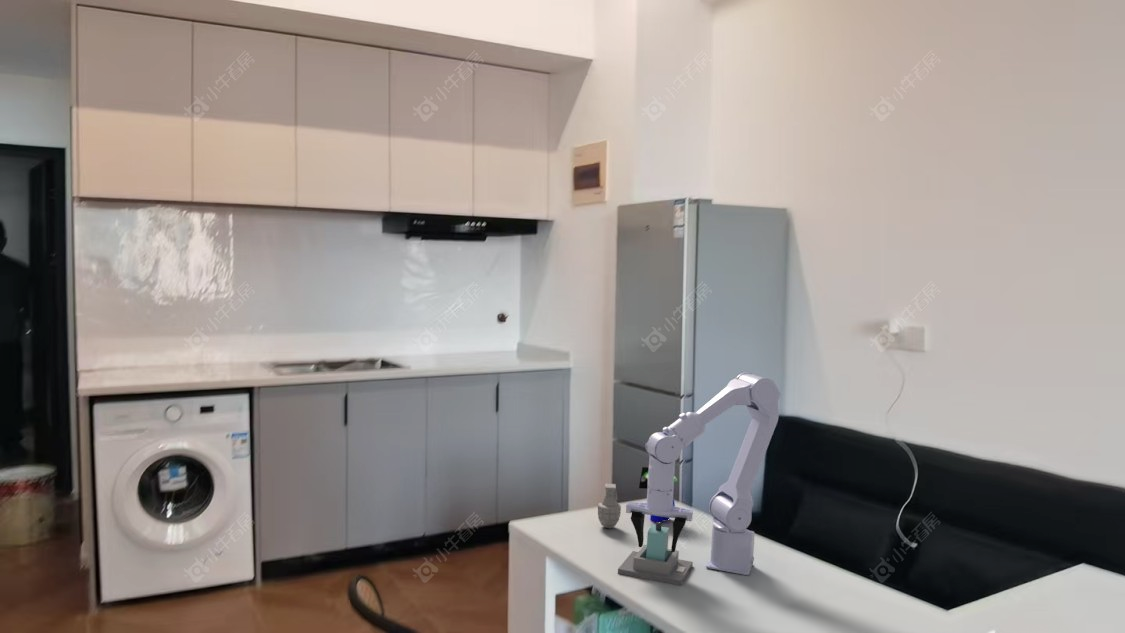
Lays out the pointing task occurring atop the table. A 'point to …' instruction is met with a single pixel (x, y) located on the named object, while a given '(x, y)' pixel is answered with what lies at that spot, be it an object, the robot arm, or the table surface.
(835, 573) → the table surface
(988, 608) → the table surface
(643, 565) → the socket block
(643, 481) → the toy
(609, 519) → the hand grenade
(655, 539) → the plug
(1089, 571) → the table surface
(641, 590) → the table surface
